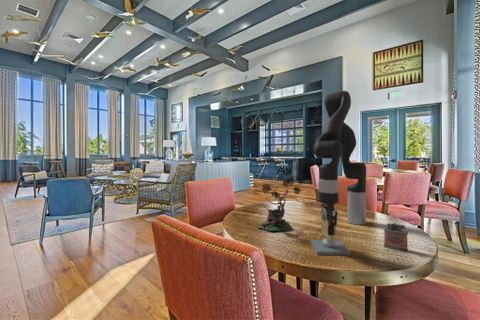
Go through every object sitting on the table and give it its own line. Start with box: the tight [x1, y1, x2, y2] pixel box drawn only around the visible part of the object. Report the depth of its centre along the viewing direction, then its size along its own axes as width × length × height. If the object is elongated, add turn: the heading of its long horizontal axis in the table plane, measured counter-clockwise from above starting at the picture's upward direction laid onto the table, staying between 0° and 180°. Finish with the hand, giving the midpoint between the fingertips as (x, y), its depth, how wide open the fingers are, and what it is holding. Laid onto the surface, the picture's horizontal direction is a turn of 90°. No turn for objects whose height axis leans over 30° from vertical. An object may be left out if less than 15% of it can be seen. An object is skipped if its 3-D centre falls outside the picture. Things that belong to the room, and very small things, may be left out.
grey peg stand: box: [309, 236, 351, 256], centre depth 93 cm, size 12×12×10 cm
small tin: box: [383, 222, 409, 253], centre depth 92 cm, size 8×3×10 cm, turn 45°
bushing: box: [320, 217, 337, 238], centre depth 93 cm, size 5×5×6 cm
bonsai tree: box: [257, 166, 306, 232], centre depth 125 cm, size 35×24×32 cm
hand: (328, 232), depth 93 cm, fingers closed on bushing, 5 cm apart
